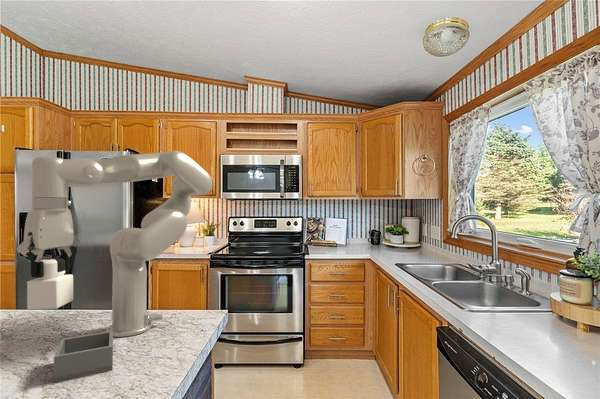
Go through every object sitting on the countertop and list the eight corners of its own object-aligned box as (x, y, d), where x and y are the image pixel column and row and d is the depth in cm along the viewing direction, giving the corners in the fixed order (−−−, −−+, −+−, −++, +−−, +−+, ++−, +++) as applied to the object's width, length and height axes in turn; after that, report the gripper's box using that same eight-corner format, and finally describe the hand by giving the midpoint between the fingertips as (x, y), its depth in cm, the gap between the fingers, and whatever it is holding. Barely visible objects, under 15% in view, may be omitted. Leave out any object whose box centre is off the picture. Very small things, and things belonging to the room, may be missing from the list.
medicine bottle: (46, 301, 89) (45, 256, 89) (73, 300, 89) (73, 256, 90) (26, 310, 82) (26, 261, 82) (56, 309, 82) (56, 261, 82)
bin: (112, 351, 87) (113, 330, 87) (112, 370, 78) (112, 346, 78) (60, 361, 82) (61, 339, 82) (53, 382, 72) (53, 357, 72)
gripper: (70, 204, 95) (71, 267, 95) (2, 205, 78) (2, 281, 78) (91, 204, 93) (91, 268, 93) (25, 205, 76) (26, 283, 76)
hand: (51, 273), depth 86 cm, fingers closed on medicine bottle, 6 cm apart
